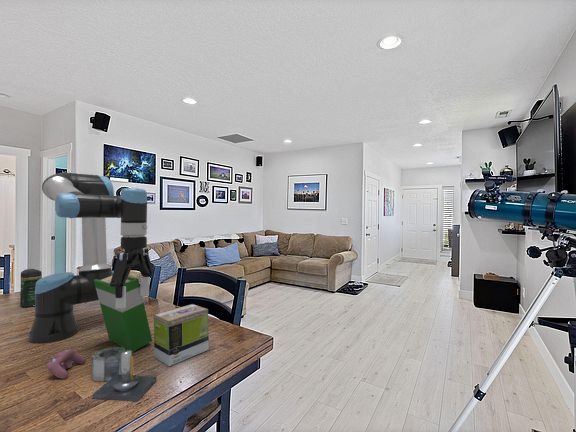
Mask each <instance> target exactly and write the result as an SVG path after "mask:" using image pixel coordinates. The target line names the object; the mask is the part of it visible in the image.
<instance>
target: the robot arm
mask: <svg viewBox="0 0 576 432" xmlns="http://www.w3.org/2000/svg"><path fill="white" fill-rule="evenodd" d="M41 191H42V192H43V194H44V195H45V196H46V198H47V199H49V200H52V201H54V210H55V214H56V216H57V217H59V218H67V219H81V233H82V234H81V235H82V237H81V240H82V241H81V243H82V267H81V268H79V270H78V274H77V275H76V274H74V273H73V272H71V271H69V272H68V271H67V272H59V273H53V274H50V275H46V276H43V277H42V278H41V279H39V280H38V281H37V282H36V287H35V306H34V319H33V323H32V325H31V328H30V331H29V332H28V341H29V342H30V343H35V344H42V343H49V342H50V343H51V342H57V341H60V340H63V339H64V340H65V339H67V338H70V337H72V336H74V335H76V334H77V333H78V332H79V324H78V322H77V320H76V316H75V313H74V306H75V305H80V304H86V303H91V302H97V301H98V302H99V299H98V295H97V291H96V287H95V283H94V280H95V279H98V280H102V279H105V278H107V277H110V276H112V279H111V282H110V286H112V287H115V294H116V295H115V297H116V308H126V286H124V284H125V282H126V280H127V277H128V276H129V275H130V273H131V271H132V268H134V267H135V266H136V267H137V269H138V271H139V272H140V274H141V275H140V281H139V285H140V296H142V297H149V296H150V277H153V275H154V274H153V273H154V270H153V266H152V262H151V259H150V258H151V257H150V254H149V249H148V248H147V246H148V245H147V243H148V237H147V236H146V235H147V233H148V232H147V229H148V225H147V222H148V219H147V218H148V193H147V190H146V189H143V188H134V187H131V188H130V187H125V188H122V189H121V191H120V195H115V190H114V186H113V183H112V181H111V179H110V178H109V177H107V176H104V175H98V174H87V173H86V174H85V173H75V172H73V173H72V172H60V173H55V174H52V175H50V176H47V177H46V178H45V179H44V181H43V182H42V185H41ZM106 218H107V219H111V218H113V219H115V218H116V219H120V236H121V238H120V248H121V250H124V252H122V253H121V252H118V253H117V255H116V263H115V265H114V269H113V270H112V267H111V266H110V265H109V264H108V261H107V259H108V258H107V257H108V256H107V226H106V224H107V223H106ZM112 273H113V274H112Z"/></svg>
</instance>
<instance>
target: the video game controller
mask: <svg viewBox="0 0 576 432" xmlns="http://www.w3.org/2000/svg"><path fill="white" fill-rule="evenodd" d="M85 362H86V358H85V357H84V356H83V355H81V354H80V353H79V352H77V351H75V350H74V349H72V348H69V349H64V350H62V351H60V352H58V353H56V354H55V355H54V356H53V357H52V358H51V359H50V361H48V362H47V364H46V369H47V371H48V372H49V373H51V374H52V375H54V376H55V377H57V378H58V379H61V380H64V379H67V378H68V377H69V373H68V372H67V370H69V369H70V368H72V367H73V363H76V364H78V365H84V364H85Z"/></svg>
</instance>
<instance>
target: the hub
mask: <svg viewBox="0 0 576 432" xmlns="http://www.w3.org/2000/svg"><path fill="white" fill-rule="evenodd" d="M125 350H126V349H125V348H123V347H122V346H110V347H107V348H104V349H100V350H98V351H96V352H95V353H93V354H92V355H91V379H92V381H93V382H101V383H103V382H104V383H107V382H108V381H109V380H111V379H112V378H113V377H114V376H115V375H121V353H122V352H123V351H125Z"/></svg>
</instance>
